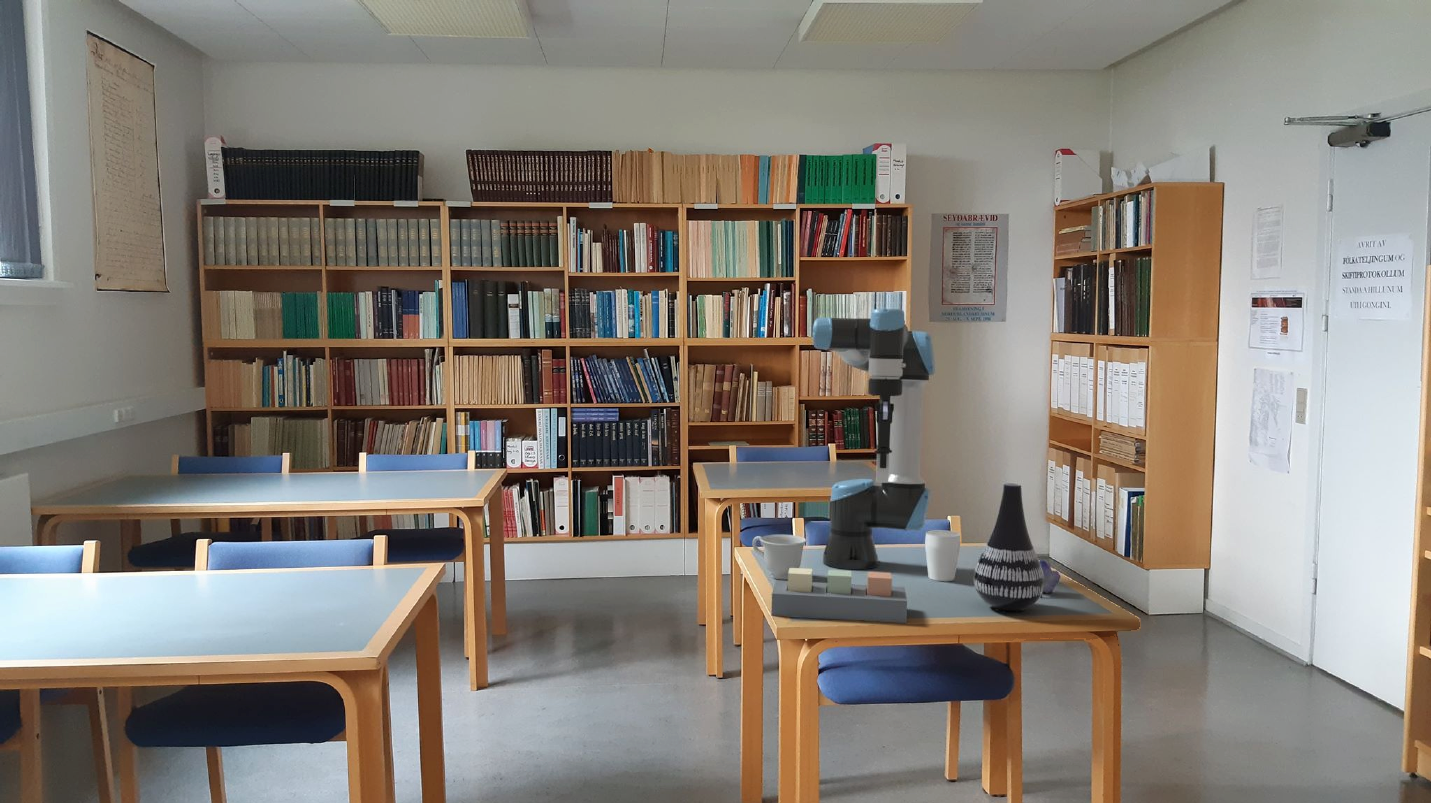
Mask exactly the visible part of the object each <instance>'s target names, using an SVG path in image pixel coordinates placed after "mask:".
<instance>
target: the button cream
mask: <svg viewBox="0 0 1431 803" xmlns="http://www.w3.org/2000/svg"><path fill="white" fill-rule="evenodd" d="M787 581H788V591H798V592H812V582H813V568H801V567H799V568H789V572H788V579H787Z"/></svg>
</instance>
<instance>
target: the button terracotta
mask: <svg viewBox="0 0 1431 803" xmlns="http://www.w3.org/2000/svg"><path fill="white" fill-rule="evenodd" d="M866 576H867V584H866V585H867V595H871V596H890V597H891V587H892V583H893V582H892V580H893V577H892V573H891V572H879V571H867V574H866Z"/></svg>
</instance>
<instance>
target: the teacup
mask: <svg viewBox="0 0 1431 803" xmlns="http://www.w3.org/2000/svg"><path fill="white" fill-rule="evenodd" d="M757 541H759V542H760V545H761V546H763V551H762V550H761V549H760V548H759V547H758V545H757ZM806 543H807V539H806V538H805V537H803V536H799V535H795V534H793V535H792V534H769V535H764V536H760V535H759V536H755V537H754V538H753V539H752V548H753V550H754V551H755V553H757V554H758V555H761V557H762V558H763V559H764V564H765V567H766V569H767V570H768V571H769V572H771V578H773V579H776V580H782V581H786V580H788V572H789V568H801V563H802V560H803V558H802V557H803V551H804V546H805V544H806Z"/></svg>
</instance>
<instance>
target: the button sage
mask: <svg viewBox="0 0 1431 803" xmlns="http://www.w3.org/2000/svg"><path fill="white" fill-rule="evenodd" d="M827 583H828V587H827V593H835V594H851V584H852V571H851V570H843V569H842V570H841V569H840V570H839V569H828V572H827Z"/></svg>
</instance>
